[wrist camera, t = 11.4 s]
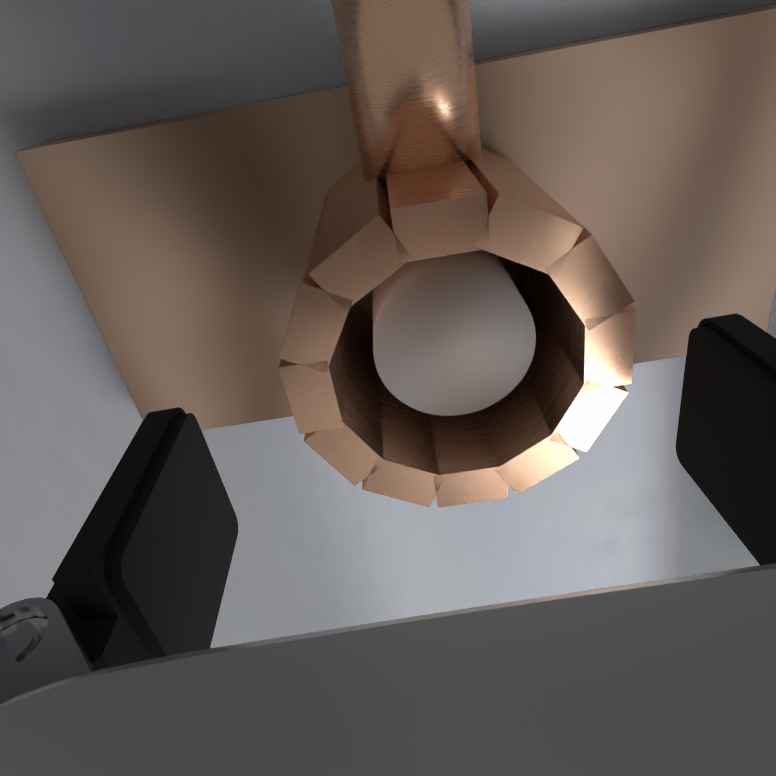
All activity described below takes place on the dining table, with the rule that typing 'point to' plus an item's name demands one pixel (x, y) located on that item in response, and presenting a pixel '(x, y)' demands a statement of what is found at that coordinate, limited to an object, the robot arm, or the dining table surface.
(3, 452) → the dining table surface
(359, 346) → the wooden stave mug
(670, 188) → the duct board
